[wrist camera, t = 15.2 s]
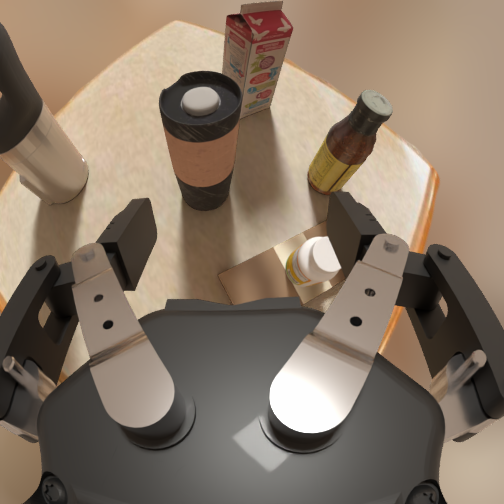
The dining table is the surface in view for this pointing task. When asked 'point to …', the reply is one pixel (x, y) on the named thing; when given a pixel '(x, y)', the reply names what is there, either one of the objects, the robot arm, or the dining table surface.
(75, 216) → the dining table surface
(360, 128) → the sauce bottle
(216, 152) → the travel mug
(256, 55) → the juice carton
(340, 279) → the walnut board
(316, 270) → the supplement bottle
